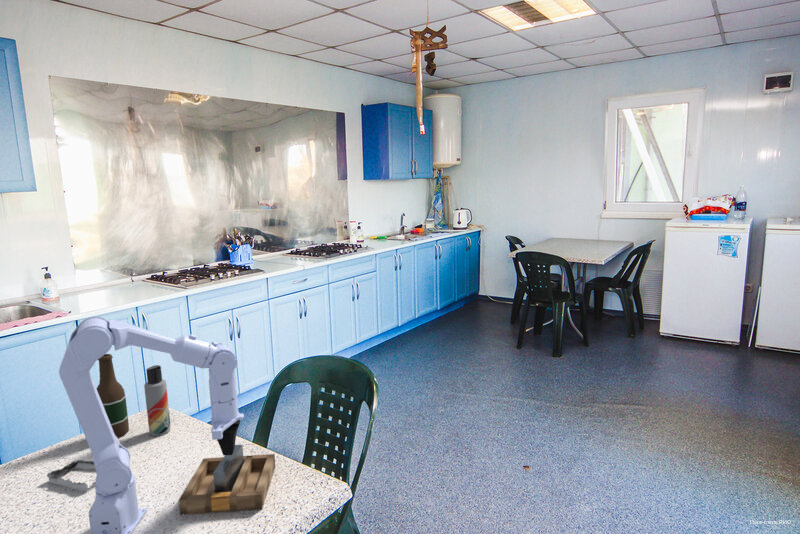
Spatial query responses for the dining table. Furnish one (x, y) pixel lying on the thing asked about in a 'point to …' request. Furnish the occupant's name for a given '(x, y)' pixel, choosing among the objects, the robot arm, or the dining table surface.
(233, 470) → the panel
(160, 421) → the lotion bottle
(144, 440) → the dining table surface
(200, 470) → the rack
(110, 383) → the beer bottle
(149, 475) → the dining table surface
